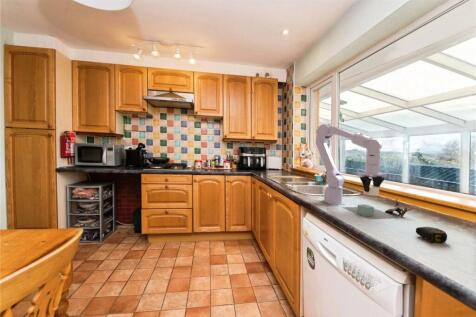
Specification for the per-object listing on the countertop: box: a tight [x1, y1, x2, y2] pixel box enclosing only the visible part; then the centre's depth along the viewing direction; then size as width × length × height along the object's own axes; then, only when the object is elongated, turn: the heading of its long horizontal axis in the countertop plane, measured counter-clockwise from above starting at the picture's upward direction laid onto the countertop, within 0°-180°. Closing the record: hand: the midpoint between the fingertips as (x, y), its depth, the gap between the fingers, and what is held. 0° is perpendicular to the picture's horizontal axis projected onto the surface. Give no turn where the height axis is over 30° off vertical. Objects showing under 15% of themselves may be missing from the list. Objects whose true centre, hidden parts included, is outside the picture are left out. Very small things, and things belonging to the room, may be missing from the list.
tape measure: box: [415, 226, 448, 243], centre depth 71 cm, size 7×7×4 cm
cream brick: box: [363, 185, 380, 197], centre depth 105 cm, size 4×4×4 cm
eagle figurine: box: [384, 199, 413, 218], centre depth 99 cm, size 8×8×10 cm
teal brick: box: [356, 204, 375, 217], centre depth 97 cm, size 4×4×4 cm
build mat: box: [341, 206, 401, 220], centre depth 101 cm, size 18×16×1 cm
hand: (371, 191), depth 105 cm, fingers closed on cream brick, 4 cm apart
